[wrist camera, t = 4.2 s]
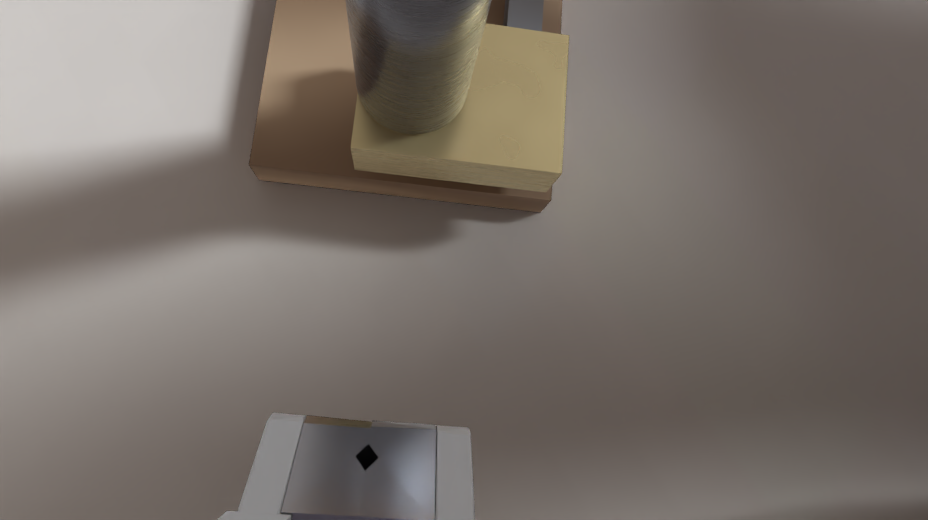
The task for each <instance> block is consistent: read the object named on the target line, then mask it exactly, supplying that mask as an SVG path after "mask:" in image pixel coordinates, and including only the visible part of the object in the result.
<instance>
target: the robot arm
mask: <svg viewBox="0 0 928 520" xmlns="http://www.w3.org/2000/svg"><path fill="white" fill-rule="evenodd" d="M217 520H475V509H474V488H473V467H472V446H471V432H470V430H469V428H468V427H455V426H441V425H437V426H435V424H418V423H402V422H386V421H372V422H369V421H359V420H349V419H339V418H329V417H319V416H309V415H307V416H306V415H295V414H284V413H272V414H271V416H270V417H269V419H268V420H267V422H266V425H265V428H264V431H263V434H262V437H261V441H260V444H259V447H258V450H257V453H256V456H255V459H254V462H253V465H252V468H251V471H250V474H249V477H248V480H247V483H246V486H245V489H244V492H243V495H242V499H241V502H240V505H239V508H238V511H226V512H225V513H224V514H223V515H221V516H220V517H219V518H218V519H217Z"/></svg>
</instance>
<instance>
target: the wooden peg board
mask: <svg viewBox="0 0 928 520" xmlns="http://www.w3.org/2000/svg"><path fill="white" fill-rule="evenodd" d="M561 16H562V0H492V1H491V5H490V8H489V12H488V16H487V20H486V23H488V24H494V25H501V26H508V27H515V28H522V29H529V30H535V31H542V32H549V33H556V34H561ZM357 94H358V92H357V87H356V79H355V71H354V64H353V56H352V48H351V40H350V33H349V25H348V17H347V10H346V2H345V0H277V1H276V7H275V12H274V18H273V24H272V30H271V36H270V42H269V48H268V54H267V60H266V66H265V72H264V78H263V84H262V90H261V96H260V102H259V107H258V113H257V119H256V125H255V131H254V137H253V143H252V149H251V155H250V161H249V166H250V167H251V169H252V170H253V172H254V173H255V175H256V176H257V177H258V179H259V180H264V181H272V182H281V183H290V184H298V185H307V186H316V187H324V188H333V189H342V190H350V191H359V192H367V193H376V194H385V195H393V196H402V197H411V198H419V199H428V200H437V201H445V202H454V203H463V204H471V205H480V206H489V207H497V208H506V209H515V210H523V211H532V212H541V211H542V210H543V209H544V208H545V207H546V206H547V205H548V203H549V202H550V201H551V194H552V186H551V187H550V188H549V190H548V191H547V192H537V191H529V190H520V189H512V188H504V187H495V186H487V185H478V184H470V183H462V182H453V181H445V180H436V179H428V178H420V177H411V176H403V175H394V174H386V173H378V172H369V171H361V170H355V168H354V163H353V158H352V153H351V140H352V132H353V125H354V117H355V109H356V102H357Z"/></svg>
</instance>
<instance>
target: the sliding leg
mask: <svg viewBox="0 0 928 520" xmlns="http://www.w3.org/2000/svg"><path fill="white" fill-rule="evenodd" d="M491 1H492V0H345V2H346V10H347V17H348V25H349V33H350V40H351V48H352V56H353V64H354V71H355V79H356V87H357V92H358V94H357V102H356V109H355V117H354V125H353V132H352V140H351V153H352V158H353V163H354V168H355V170H361V171H369V172H378V173H386V174H394V175H403V176H411V177H420V178H428V179H436V180H445V181H453V182H462V183H470V184H478V185H487V186H495V187H504V188H512V189H520V190H529V191H537V192H547V191H548V190H549V188H550V187H551V186H552V185H553V183H554V182H555V181H556V180H557V179H558V177H559V176H560V175H561V174H562V161H563V142H564V123H565V104H566V85H567V66H568V47H569V35H563V34H556V33H549V32H542V31H535V30H529V29H522V28H515V27H508V26H501V25H494V24H488V23H486V20H487V16H488V12H489V8H490V5H491Z"/></svg>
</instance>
